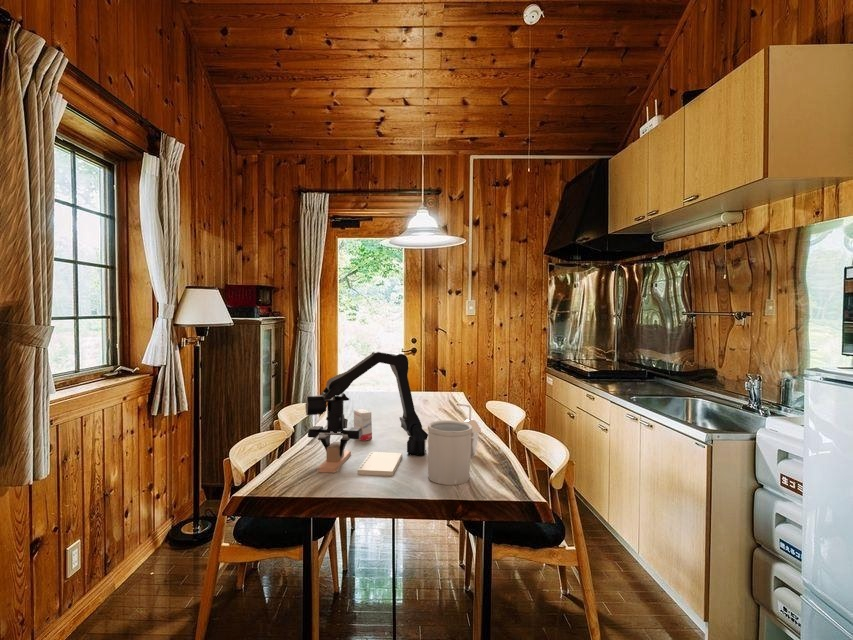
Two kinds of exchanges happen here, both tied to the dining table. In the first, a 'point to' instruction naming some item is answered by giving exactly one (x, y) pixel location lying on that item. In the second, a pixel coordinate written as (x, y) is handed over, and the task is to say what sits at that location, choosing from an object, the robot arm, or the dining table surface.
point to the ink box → (363, 423)
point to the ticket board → (380, 464)
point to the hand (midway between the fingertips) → (335, 456)
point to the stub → (333, 458)
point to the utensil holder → (449, 452)
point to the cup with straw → (474, 433)
